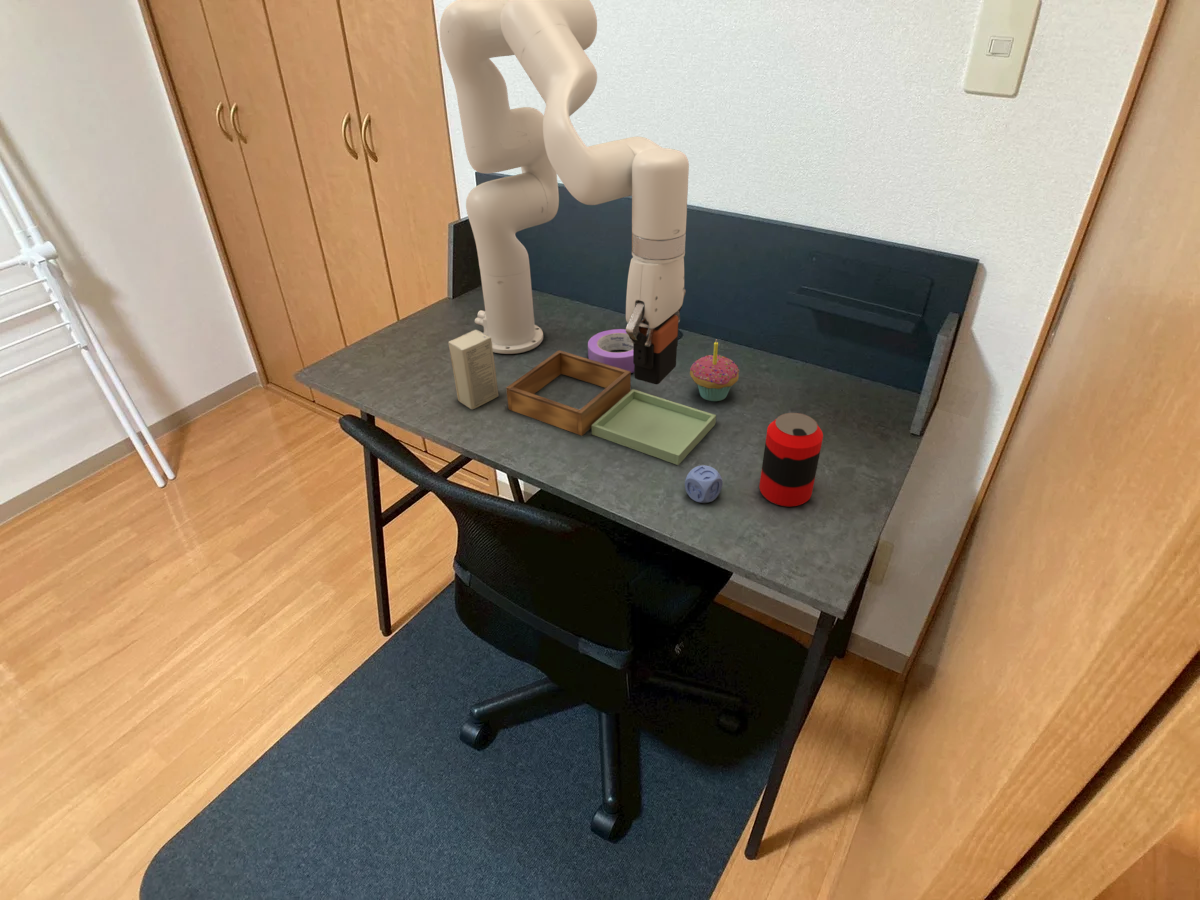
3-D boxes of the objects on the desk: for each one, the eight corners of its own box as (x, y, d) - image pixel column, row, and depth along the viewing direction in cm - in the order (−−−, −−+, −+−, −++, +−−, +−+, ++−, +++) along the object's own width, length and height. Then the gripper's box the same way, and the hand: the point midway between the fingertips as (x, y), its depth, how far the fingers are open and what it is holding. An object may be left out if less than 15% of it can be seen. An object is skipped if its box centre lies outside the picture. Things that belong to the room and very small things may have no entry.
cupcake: (735, 409, 124) (741, 347, 117) (686, 404, 126) (689, 343, 119) (737, 383, 131) (744, 324, 124) (691, 380, 133) (694, 320, 126)
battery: (632, 379, 112) (633, 321, 106) (652, 360, 117) (654, 303, 111) (657, 386, 111) (659, 327, 105) (677, 367, 115) (679, 309, 109)
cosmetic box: (485, 388, 132) (476, 328, 125) (500, 397, 129) (492, 336, 122) (456, 401, 129) (446, 340, 121) (471, 411, 126) (462, 349, 119)
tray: (591, 434, 119) (591, 425, 118) (632, 398, 128) (632, 388, 127) (678, 465, 112) (678, 455, 111) (715, 424, 121) (716, 415, 120)
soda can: (764, 508, 103) (774, 440, 96) (754, 475, 110) (763, 409, 102) (817, 507, 103) (831, 439, 96) (804, 474, 109) (817, 408, 102)
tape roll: (576, 365, 138) (575, 347, 136) (609, 340, 146) (609, 323, 144) (628, 381, 133) (628, 363, 131) (659, 355, 141) (660, 337, 138)
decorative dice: (701, 482, 109) (702, 461, 106) (722, 494, 106) (724, 473, 104) (683, 494, 106) (684, 473, 104) (704, 507, 104) (705, 485, 102)
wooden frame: (508, 409, 126) (505, 387, 123) (560, 371, 137) (558, 349, 134) (582, 436, 119) (581, 413, 116) (630, 393, 130) (630, 371, 127)
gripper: (664, 221, 109) (661, 328, 119) (602, 259, 97) (605, 373, 108) (710, 229, 106) (702, 338, 116) (651, 270, 94) (648, 387, 104)
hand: (655, 354), depth 112 cm, fingers closed on battery, 7 cm apart
